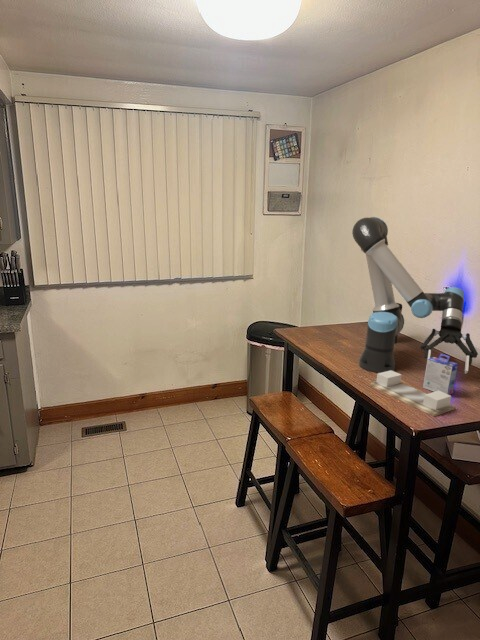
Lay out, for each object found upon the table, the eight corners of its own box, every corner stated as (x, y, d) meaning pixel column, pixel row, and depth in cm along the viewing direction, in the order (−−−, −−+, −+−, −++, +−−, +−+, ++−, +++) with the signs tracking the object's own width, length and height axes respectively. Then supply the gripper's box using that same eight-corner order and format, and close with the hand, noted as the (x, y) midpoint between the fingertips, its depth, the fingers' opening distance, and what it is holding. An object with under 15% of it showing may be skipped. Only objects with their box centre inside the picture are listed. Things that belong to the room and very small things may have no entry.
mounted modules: (376, 381, 171) (377, 373, 170) (389, 378, 175) (391, 370, 174) (435, 409, 150) (437, 400, 149) (449, 405, 154) (451, 395, 153)
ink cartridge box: (453, 392, 168) (460, 357, 164) (447, 397, 164) (453, 361, 160) (428, 384, 175) (434, 350, 170) (422, 388, 171) (427, 353, 167)
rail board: (370, 385, 171) (370, 381, 170) (390, 380, 177) (391, 376, 177) (433, 416, 148) (434, 412, 148) (454, 409, 155) (455, 405, 154)
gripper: (483, 331, 177) (480, 378, 168) (417, 322, 186) (411, 367, 177) (488, 321, 171) (485, 370, 162) (419, 313, 180) (413, 359, 171)
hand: (446, 369), depth 169 cm, fingers open, 13 cm apart
